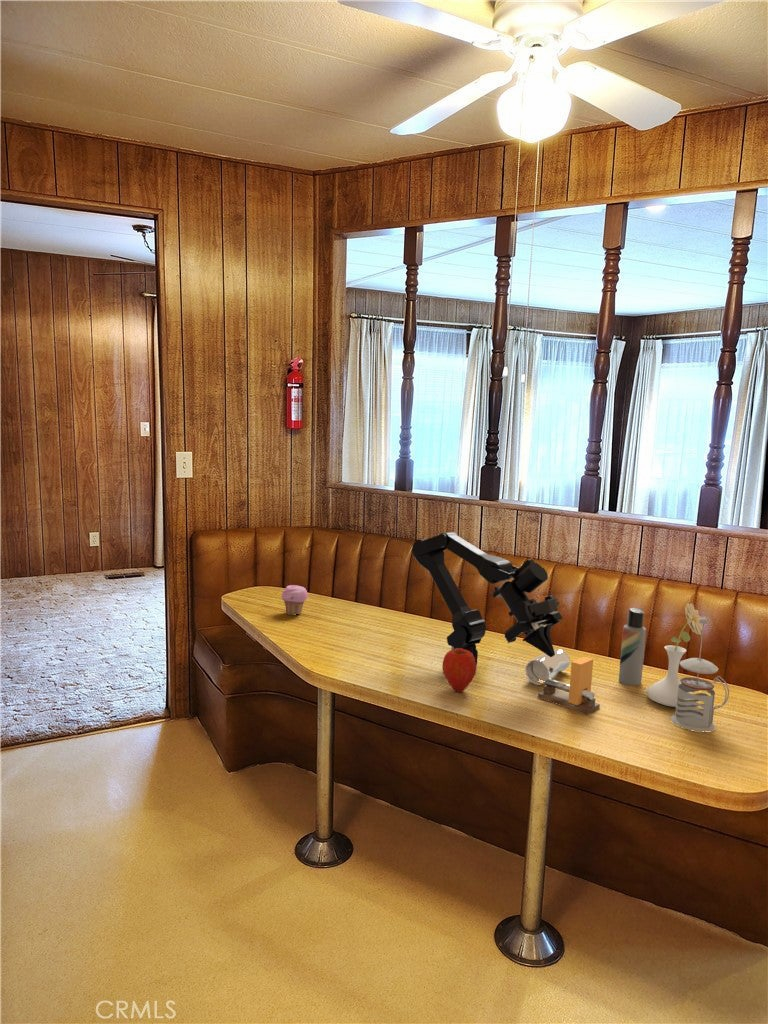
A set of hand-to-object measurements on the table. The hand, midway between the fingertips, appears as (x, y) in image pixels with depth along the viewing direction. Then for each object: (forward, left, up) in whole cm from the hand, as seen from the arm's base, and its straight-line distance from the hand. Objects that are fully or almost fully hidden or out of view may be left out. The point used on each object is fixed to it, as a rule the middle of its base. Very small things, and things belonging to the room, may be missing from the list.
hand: (552, 656), depth 169 cm
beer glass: (+9, +19, -7) cm, 22 cm away
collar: (+5, -6, -9) cm, 12 cm away
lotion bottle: (+25, +10, -11) cm, 29 cm away
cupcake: (-66, +70, -11) cm, 97 cm away
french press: (+29, -16, -11) cm, 35 cm away
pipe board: (+3, -4, -10) cm, 12 cm away
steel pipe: (+3, -4, -8) cm, 9 cm away
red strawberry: (-23, +3, -11) cm, 25 cm away
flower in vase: (+30, -3, -11) cm, 32 cm away
